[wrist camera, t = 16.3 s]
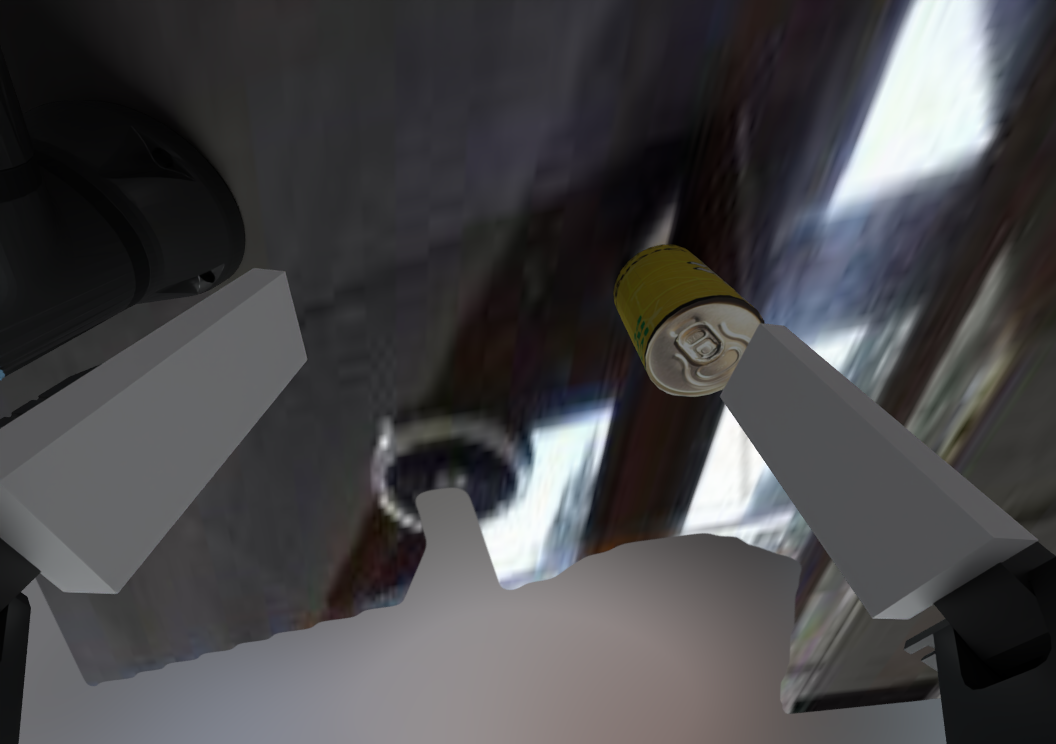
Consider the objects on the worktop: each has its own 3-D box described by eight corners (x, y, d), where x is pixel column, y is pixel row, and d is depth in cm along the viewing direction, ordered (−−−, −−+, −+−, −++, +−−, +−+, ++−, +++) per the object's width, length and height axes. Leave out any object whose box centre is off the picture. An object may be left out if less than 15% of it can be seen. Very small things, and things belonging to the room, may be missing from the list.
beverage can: (651, 341, 42) (691, 413, 33) (595, 294, 39) (621, 359, 29) (720, 282, 38) (789, 344, 29) (664, 224, 35) (721, 272, 25)
